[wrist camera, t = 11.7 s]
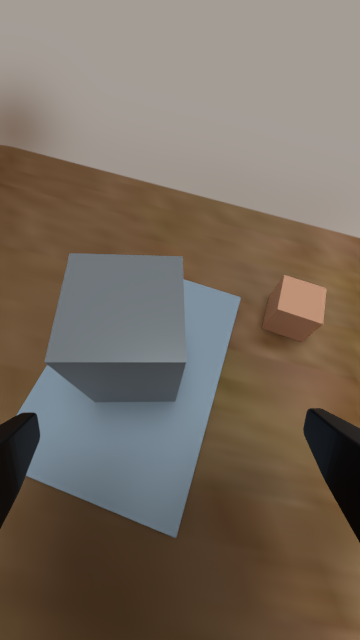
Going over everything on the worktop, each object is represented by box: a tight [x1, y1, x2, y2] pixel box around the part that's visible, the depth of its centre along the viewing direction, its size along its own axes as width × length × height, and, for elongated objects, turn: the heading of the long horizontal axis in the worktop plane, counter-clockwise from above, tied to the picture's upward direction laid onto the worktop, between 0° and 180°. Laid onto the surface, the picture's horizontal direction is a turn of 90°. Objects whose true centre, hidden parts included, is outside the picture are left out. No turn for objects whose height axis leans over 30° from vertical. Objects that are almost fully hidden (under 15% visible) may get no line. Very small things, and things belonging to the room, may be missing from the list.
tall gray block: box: [45, 253, 186, 402], centre depth 18 cm, size 6×6×10 cm
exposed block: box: [262, 275, 327, 342], centre depth 25 cm, size 4×4×4 cm
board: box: [16, 279, 241, 538], centre depth 23 cm, size 20×14×1 cm
